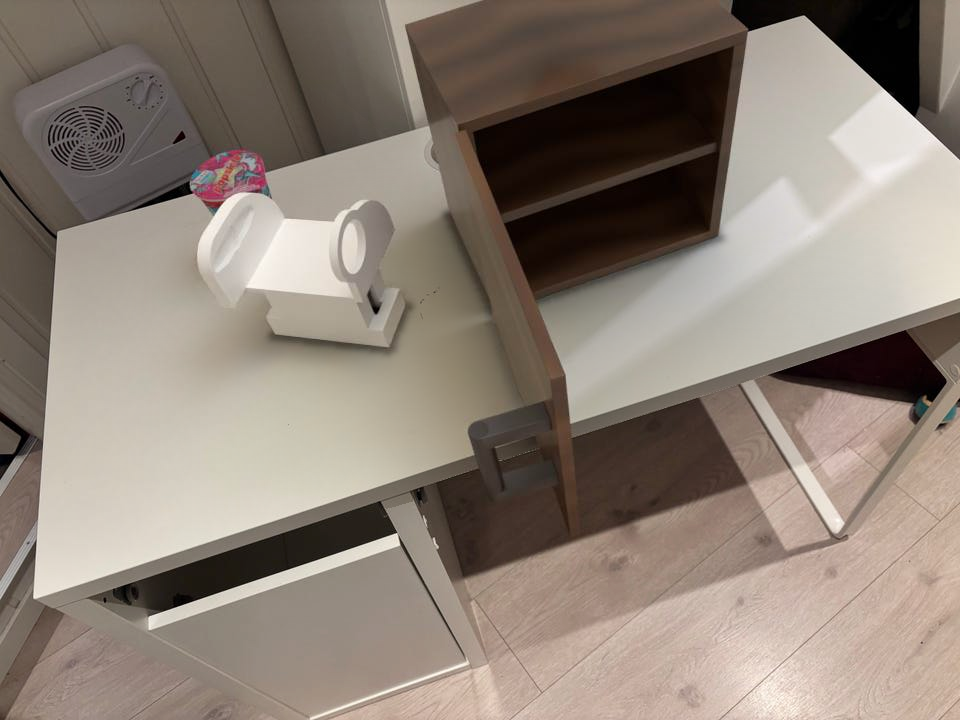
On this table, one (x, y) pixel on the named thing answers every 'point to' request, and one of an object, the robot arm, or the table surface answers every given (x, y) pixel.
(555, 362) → the cupboard door
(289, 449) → the table surface
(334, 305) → the tape dispenser
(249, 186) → the cup
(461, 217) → the cupboard
